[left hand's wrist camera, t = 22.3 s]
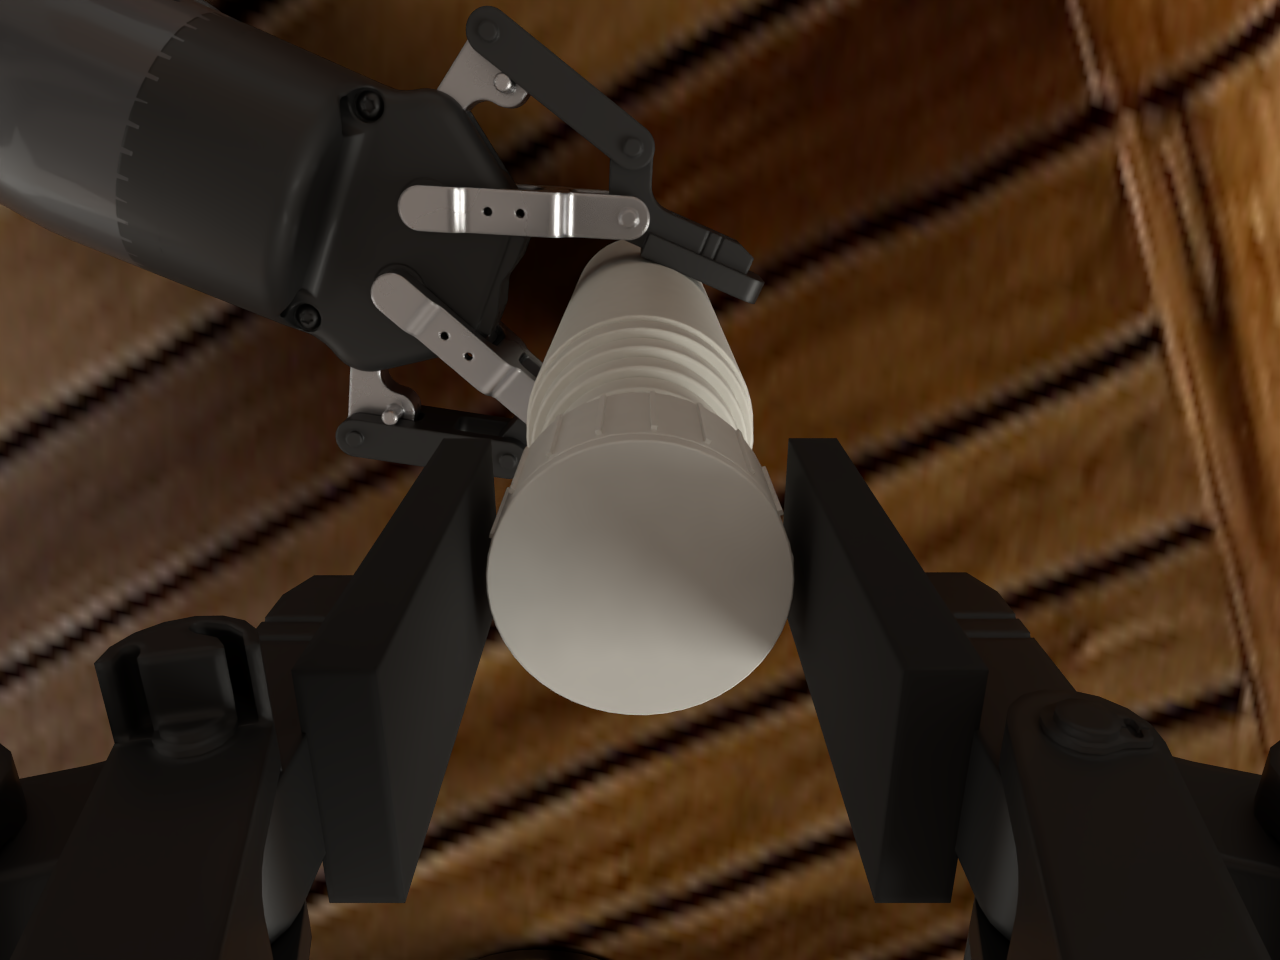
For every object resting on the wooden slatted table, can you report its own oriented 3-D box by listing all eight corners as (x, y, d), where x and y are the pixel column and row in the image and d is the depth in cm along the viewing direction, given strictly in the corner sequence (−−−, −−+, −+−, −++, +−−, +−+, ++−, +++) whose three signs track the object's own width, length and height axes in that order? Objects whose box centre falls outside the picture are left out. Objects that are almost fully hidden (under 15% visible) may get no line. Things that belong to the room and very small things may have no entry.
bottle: (638, 391, 34) (636, 753, 14) (548, 301, 33) (406, 557, 13) (730, 304, 33) (873, 564, 13) (641, 208, 32) (645, 328, 12)
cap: (671, 676, 15) (676, 766, 13) (456, 546, 15) (423, 619, 12) (828, 488, 14) (864, 552, 12) (603, 333, 13) (596, 372, 11)
